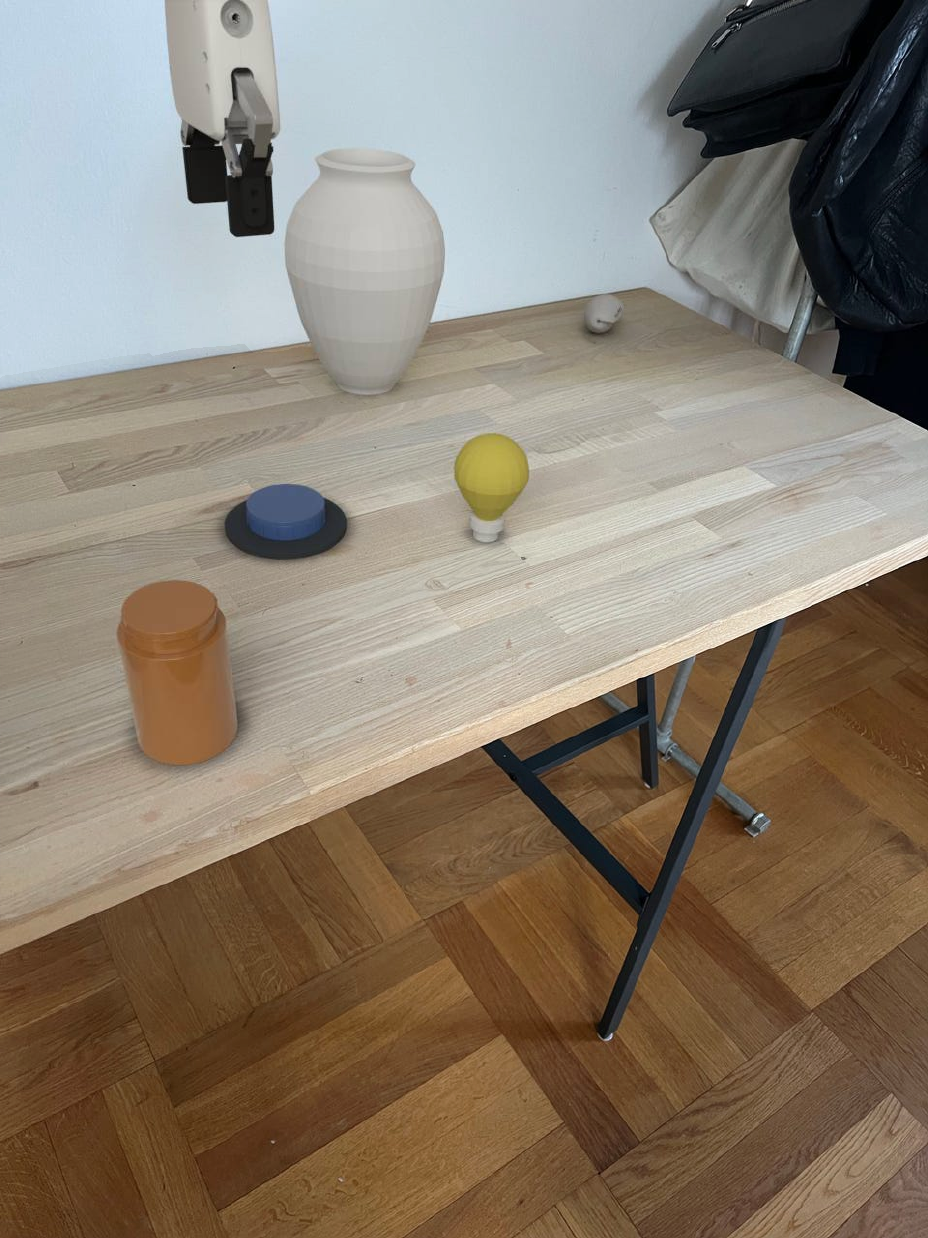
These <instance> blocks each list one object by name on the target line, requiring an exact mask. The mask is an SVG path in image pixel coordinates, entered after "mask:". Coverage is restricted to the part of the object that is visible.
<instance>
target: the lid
mask: <svg viewBox="0 0 928 1238" xmlns="http://www.w3.org/2000/svg"><path fill="white" fill-rule="evenodd" d="M323 498H324V497H323V495H322V494H321V493H320V492H319V491H317V490H316V489H314V488H312V487H309V486H306V485H301V484H296V483H279V484H272V485H268V486H264V487H261V488H259V489H257V490H255V491H254V492H252V493H251V494H250V495H249V497H247V499H246V500H247V502H246V507H247V511H246V516H247V524H248V525H249V527H250V529H251V530H252V531H253V532H254V533H256V534H258V535H260V536H262V537H265V538H268V539H273V540H283V541H287V540H297V539H302V538H306V537H308V536H311V535H313V534H315V533H316V532H318V531H319V530H320V529H321V528H322V527H323V525H324V523H325V503H324V499H323Z"/></svg>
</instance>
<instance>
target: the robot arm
mask: <svg viewBox="0 0 928 1238" xmlns="http://www.w3.org/2000/svg"><path fill="white" fill-rule="evenodd" d="M164 14H165V29H166V40H167V41H166V43H167V51H168V52H167V53H168V63H169V64H168V65H169V72H170V74H169V75H170V82H171V89H172V96H173V101H174V107H175V111H176V113H177V115H178V116H179V118H181V119H180V120H181V125H180V132H179V134H180V140H181V143H182V145H183V146H182V148H181V150H182V157H183V158H182V159H183V168H184V177H185V186H186V196H187V200H188V201H189V202H190V203H191V204H194V205H199V204H214V203H226V205H227V215H228V228H229V233H230V235H232V236H233V237H235V238H243V237H244V238H245V237H257V236H268V235H269V236H270V235H272V234H273V233H274V232H275V215H274V214H275V212H274V195H273V193H274V192H273V179H272V178H273V177H272V176H273V174H274V167H273V162H272V156H273V153H274V146H273V143H272V140H275V139H276V138H277V137H278V136H279V134H280V132H281V115H280V114H281V113H280V101H279V89H278V79H277V77H278V76H277V68H276V56H275V46H274V37H273V36H274V35H273V28H272V22H271V21H272V20H271V13H270V7H269V0H164ZM220 144H221V145H220ZM237 145H241V147H240V151H238V148H237ZM228 169H229V173H230V174H228Z"/></svg>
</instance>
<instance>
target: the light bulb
mask: <svg viewBox="0 0 928 1238" xmlns="http://www.w3.org/2000/svg"><path fill="white" fill-rule="evenodd" d="M453 467H454V468H453V474H454V477H453V478H454V480H455V482H456V484H457V487H458V489H459V491H460V493H461V495H462V497H463V499H464V501H465V502H466V503H467V506H469V508H470V509H471V511H470V514H469V519H468V520H469V521H468V523H469V527H470V529H471V530H472V536H473V539H475V540H476V541H479V542H482V543H492V542H493V543H494V542H495V541H497V540H498V538H499V533H500V532H501V531H503V530H504V527H505V520H506V517H505V514H504V513H505V512H506V511H507V510H508V509H509V508H511V506H512V505H513V504H514V503H515V502H516V501H517V499H518V498H519V496H520V495H521V494H522V492H523V491H524V489H525V488H526V486H527V484H528V482H529V478H530V467H529V461H528V458H527V455H526V453H525V451H524V449H523V448H522V447H521V446H520V445H519V444H518V442H516V441H515V440H514V439H512V438H511V437H509V436H507V435H504V434H501V433H495V432H490V433H489V432H487V433H484V434H479V435H476V436H475V437H473V438H471V439H470V440H468V441H467V442H466V443H465V444H464V445H463V446H462V447H461V449H460V450H459V452H458V454H457V455H456V458H455V460H454V466H453Z"/></svg>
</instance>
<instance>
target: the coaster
mask: <svg viewBox="0 0 928 1238" xmlns="http://www.w3.org/2000/svg"><path fill="white" fill-rule="evenodd" d="M323 499H324V503H325V523H324V525H323V527H322V528H321V529H320V530H319V531H318V532H316V533H315V534H313V535H311V536H308V537H306V538H302V539H297V540H287V541H283V540H273V539H268V538H265V537H262V536H260V535H258V534H256V533H254V532H253V531H252V530H251V529H250V527H249V525H248V524H247V516H246V511H247V507H246V502H247V499H246V500H244V501H242V502H240V503H238V504H236V505H235V506H234V507H233V508H232V509H231V510H230V511H229V512H228V514H226V515H227V516H226V517H225V520H224V532H225V536H226V537H227V540H228V541H229V542H230V543H231V544H232V545H233V546H234V547H235V548H236V549H239V550H240V551H243V553H246V554H249V555H251V556H255V557H258V558H264V559H271V560H296V559H297V560H298V559H304V558H307V557H308V558H309V557H312V556H315V555H318V554H322V553H324V552H326V551H328V550H330V549H332V548H333V547H335V546H336V545H338V543H340V542H341V541H342V540H343V538H344V537H345V534H346V532H347V529H348V526H347V525H348V520H347V515H346V514H345V512H344V511H343V508H341V507H340V506H339V505H338V504H337V503H335V502H334V501H332V500H330V499H328V498H325V497H323Z"/></svg>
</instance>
